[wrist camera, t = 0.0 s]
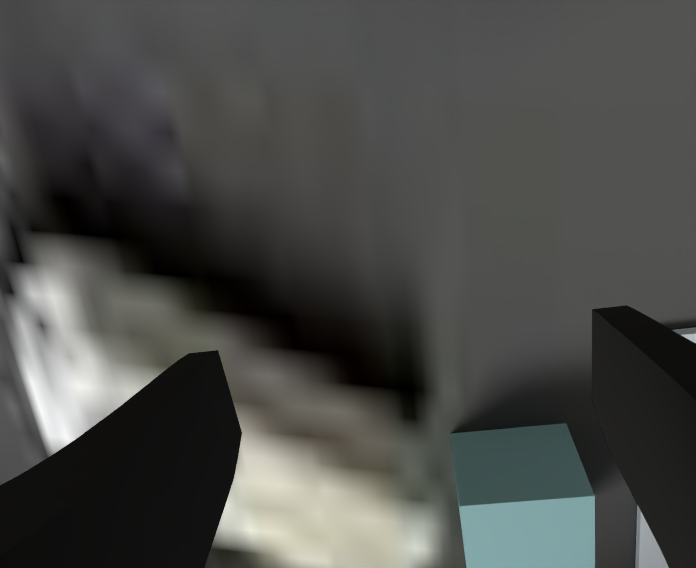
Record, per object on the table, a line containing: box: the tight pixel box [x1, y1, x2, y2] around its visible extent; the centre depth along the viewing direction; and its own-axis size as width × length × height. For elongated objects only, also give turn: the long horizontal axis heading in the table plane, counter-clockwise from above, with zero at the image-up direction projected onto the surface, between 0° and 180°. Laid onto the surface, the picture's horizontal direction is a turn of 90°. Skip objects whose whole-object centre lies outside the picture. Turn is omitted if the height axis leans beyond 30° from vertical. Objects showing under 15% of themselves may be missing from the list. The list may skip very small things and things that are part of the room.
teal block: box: [450, 423, 595, 568], centre depth 24 cm, size 4×4×4 cm
